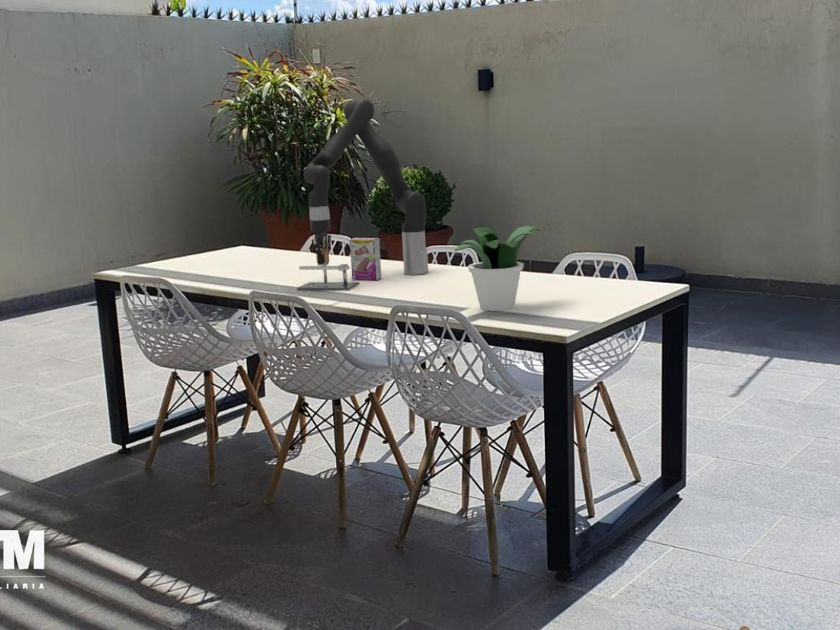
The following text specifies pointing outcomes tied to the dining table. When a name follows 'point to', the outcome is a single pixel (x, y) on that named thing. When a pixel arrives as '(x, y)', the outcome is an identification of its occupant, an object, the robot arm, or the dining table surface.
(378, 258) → the candy bar box
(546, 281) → the dining table surface
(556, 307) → the dining table surface
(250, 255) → the dining table surface
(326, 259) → the block
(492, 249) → the potted plant
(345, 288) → the bolt plate
